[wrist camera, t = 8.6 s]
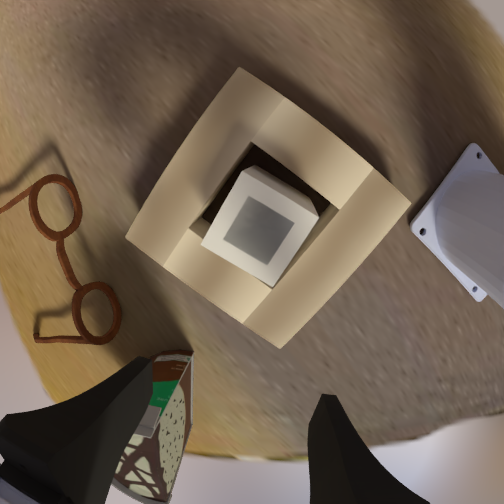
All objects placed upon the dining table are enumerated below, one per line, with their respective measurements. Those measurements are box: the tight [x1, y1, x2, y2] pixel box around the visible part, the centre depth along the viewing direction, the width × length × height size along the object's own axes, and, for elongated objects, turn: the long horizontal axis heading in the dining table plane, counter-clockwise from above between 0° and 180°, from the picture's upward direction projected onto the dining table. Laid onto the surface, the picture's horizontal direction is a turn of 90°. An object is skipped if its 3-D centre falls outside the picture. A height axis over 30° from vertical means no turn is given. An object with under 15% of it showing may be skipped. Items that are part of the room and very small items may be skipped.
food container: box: [111, 350, 194, 504], centre depth 21 cm, size 12×6×10 cm, turn 173°
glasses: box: [0, 174, 121, 345], centre depth 22 cm, size 13×13×5 cm
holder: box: [125, 67, 411, 349], centre depth 19 cm, size 12×12×3 cm
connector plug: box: [201, 165, 319, 287], centre depth 17 cm, size 4×4×6 cm
